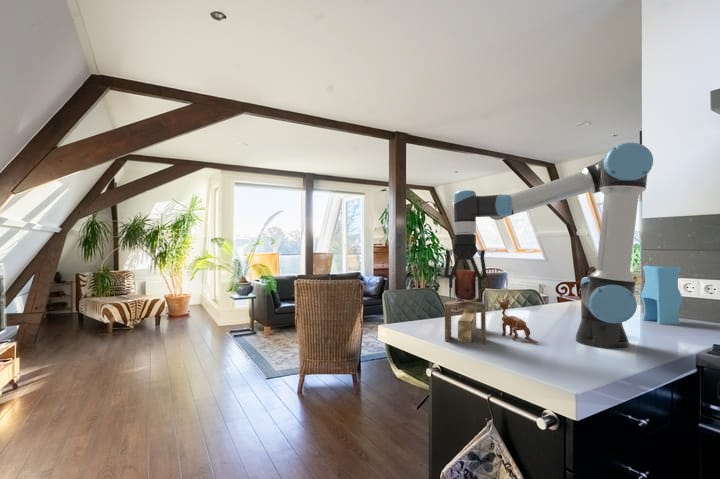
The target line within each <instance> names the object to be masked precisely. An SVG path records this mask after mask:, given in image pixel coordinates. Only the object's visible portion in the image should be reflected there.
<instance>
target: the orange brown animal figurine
mask: <svg viewBox="0 0 720 479" xmlns="http://www.w3.org/2000/svg"><path fill="white" fill-rule="evenodd" d="M509 301H510V300H509V299H507V300H505V299H504V298H502V300H500V302H499V306H500V308H501V309H503V310H502V312H501V314H502V317H501V321H502V324H501V326H502V327H501V328H502V334H500V336H501V337H506V334H507V328H506V327H507V326H508V327H509V334H507V336H512V335H513V334H514V335H513V338H511V339H512V340H513V341H517V339H518V338H519V334H518V332H517V331H523V332H524V335H525V337H524V339H525V340H528V341H529V342H532V343H535V344H538V343H539V342H538V340H535V339H532V338H531V337H530V336H531V330H530V329H529V327H528V325H527V323H526V321H524V320H523V319H521V318H519V317H517V316H515V315H514V316H513V315H510V316H509V315H506V310H508V309H509V303H510V302H509Z"/></svg>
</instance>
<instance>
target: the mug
mask: <svg viewBox="0 0 720 479" xmlns="http://www.w3.org/2000/svg"><path fill="white" fill-rule="evenodd" d="M454 279H455V298H456V299H458V300H463V301H464V300H473V299H475V298H476V280H477V276H476V273H475V271H474V269H457V270H456V271H455V274H454Z"/></svg>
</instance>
